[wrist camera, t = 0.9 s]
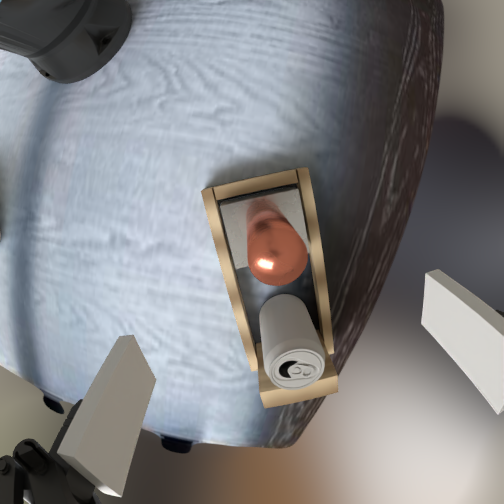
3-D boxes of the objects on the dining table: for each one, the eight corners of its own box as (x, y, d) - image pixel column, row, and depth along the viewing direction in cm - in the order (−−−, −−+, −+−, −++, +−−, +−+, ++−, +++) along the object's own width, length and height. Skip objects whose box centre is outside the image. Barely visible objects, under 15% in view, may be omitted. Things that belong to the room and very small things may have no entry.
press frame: (204, 188, 32) (187, 199, 23) (303, 167, 32) (327, 169, 22) (251, 360, 40) (253, 410, 30) (329, 343, 39) (349, 388, 30)
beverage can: (265, 287, 36) (274, 342, 25) (312, 296, 37) (338, 350, 25) (253, 328, 38) (257, 389, 27) (298, 335, 39) (315, 395, 27)
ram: (222, 201, 33) (201, 239, 16) (292, 185, 32) (338, 209, 16) (236, 257, 35) (230, 338, 18) (302, 242, 34) (349, 311, 18)
